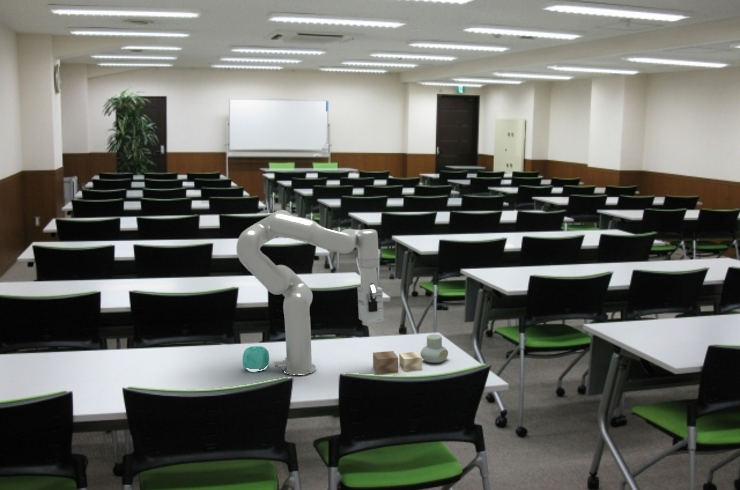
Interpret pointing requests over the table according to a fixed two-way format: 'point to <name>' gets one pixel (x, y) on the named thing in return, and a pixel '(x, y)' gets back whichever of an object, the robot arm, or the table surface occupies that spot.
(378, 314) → the supplement box
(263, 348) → the teal rounded cube
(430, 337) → the air freshener
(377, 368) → the walnut block
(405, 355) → the maple block
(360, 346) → the table surface
